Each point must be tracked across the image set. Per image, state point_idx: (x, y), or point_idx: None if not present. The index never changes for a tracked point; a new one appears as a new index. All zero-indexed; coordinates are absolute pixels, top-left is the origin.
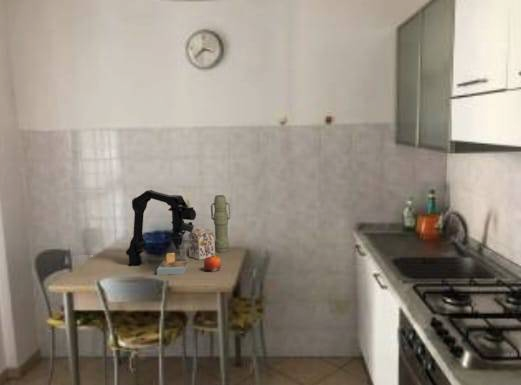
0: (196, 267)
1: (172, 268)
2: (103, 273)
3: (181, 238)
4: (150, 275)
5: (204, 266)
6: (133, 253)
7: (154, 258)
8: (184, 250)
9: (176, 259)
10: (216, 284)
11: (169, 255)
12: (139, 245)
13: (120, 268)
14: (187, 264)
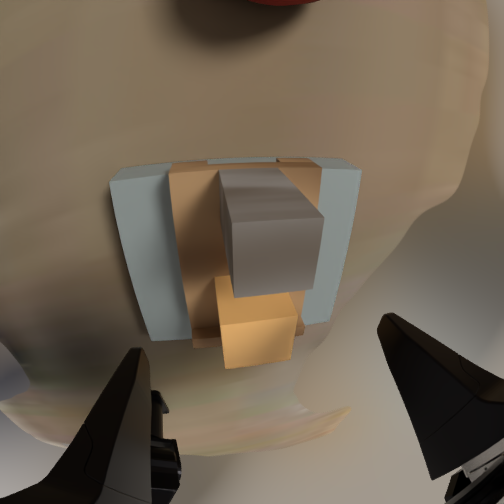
0: (170, 84)
1: (336, 246)
2: (255, 425)
3: (119, 442)
4: None
5: (303, 3)
6: (177, 448)
7: (45, 364)
8: (312, 234)
9: (199, 269)
10: (486, 24)
11: (291, 337)
12: (166, 473)
13: (200, 416)
14: (128, 170)
